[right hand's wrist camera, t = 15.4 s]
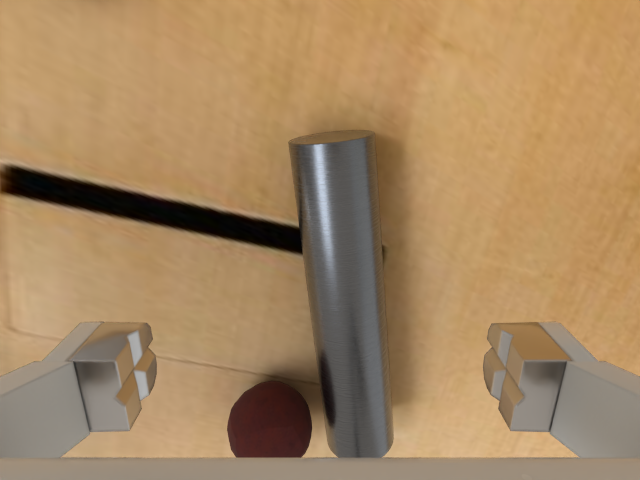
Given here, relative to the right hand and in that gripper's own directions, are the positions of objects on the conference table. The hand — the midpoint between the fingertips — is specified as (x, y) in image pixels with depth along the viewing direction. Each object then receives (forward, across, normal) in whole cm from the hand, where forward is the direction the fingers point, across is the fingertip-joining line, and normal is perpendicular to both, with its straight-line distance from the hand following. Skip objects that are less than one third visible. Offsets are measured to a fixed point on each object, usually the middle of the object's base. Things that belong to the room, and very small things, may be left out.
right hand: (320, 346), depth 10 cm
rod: (+25, -1, +12) cm, 27 cm away
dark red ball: (+25, +5, +23) cm, 35 cm away
